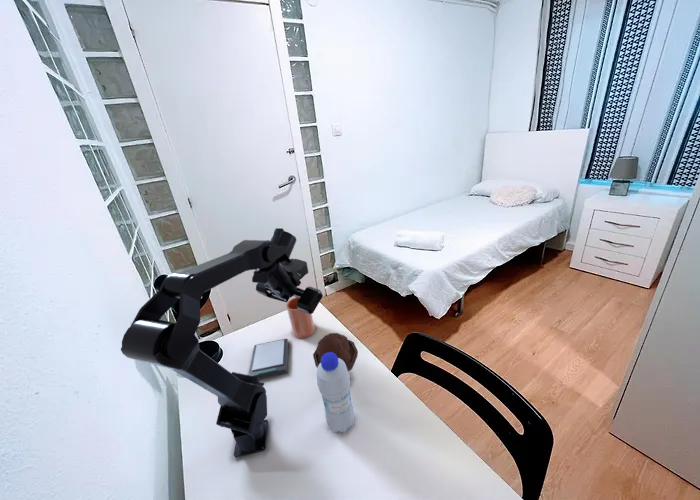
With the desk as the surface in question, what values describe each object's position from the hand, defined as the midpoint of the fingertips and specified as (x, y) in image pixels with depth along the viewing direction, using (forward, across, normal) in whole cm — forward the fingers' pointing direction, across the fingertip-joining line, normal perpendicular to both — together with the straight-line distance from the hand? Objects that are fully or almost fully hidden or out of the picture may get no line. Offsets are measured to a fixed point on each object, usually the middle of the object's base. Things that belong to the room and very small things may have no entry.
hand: (299, 305), depth 80 cm
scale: (+9, +4, +16) cm, 18 cm away
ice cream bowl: (+8, -18, +12) cm, 23 cm away
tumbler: (+15, +3, +3) cm, 15 cm away
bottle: (+3, -24, +20) cm, 31 cm away
